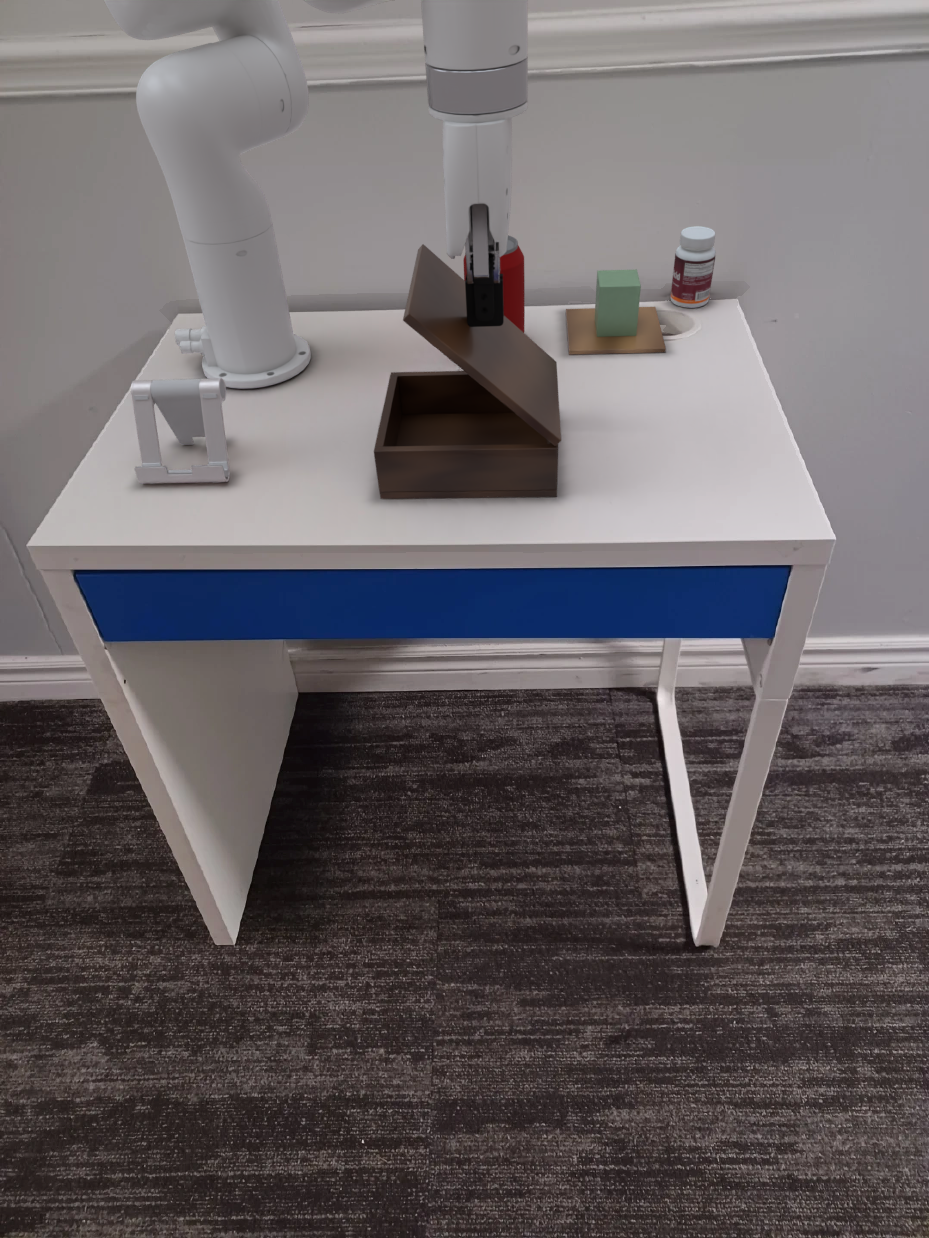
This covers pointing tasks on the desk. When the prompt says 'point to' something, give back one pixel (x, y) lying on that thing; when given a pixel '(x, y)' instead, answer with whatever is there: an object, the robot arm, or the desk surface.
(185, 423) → the tablet stand
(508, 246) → the beverage can
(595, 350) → the coaster
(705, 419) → the desk surface
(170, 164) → the robot arm
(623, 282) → the green block
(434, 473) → the chest
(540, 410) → the lid
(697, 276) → the pill bottle
